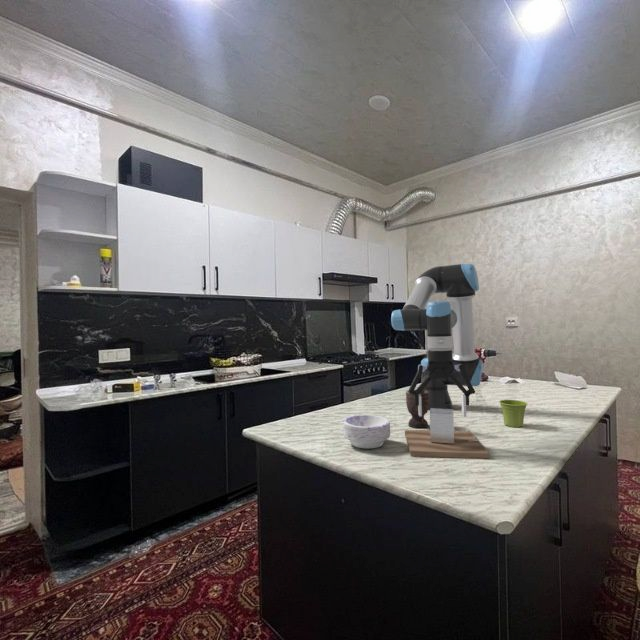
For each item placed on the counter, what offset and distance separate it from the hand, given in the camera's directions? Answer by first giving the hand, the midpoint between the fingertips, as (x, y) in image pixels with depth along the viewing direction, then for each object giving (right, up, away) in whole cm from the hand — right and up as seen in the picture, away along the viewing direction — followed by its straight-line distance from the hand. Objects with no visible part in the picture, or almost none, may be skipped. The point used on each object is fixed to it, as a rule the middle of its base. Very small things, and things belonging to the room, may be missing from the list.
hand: (441, 415), depth 118 cm
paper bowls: (-24, -10, +2) cm, 26 cm away
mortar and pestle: (-1, -10, +21) cm, 23 cm away
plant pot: (+33, -9, +20) cm, 40 cm away
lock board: (0, -9, -1) cm, 9 cm away
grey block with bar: (+1, -8, +1) cm, 8 cm away
